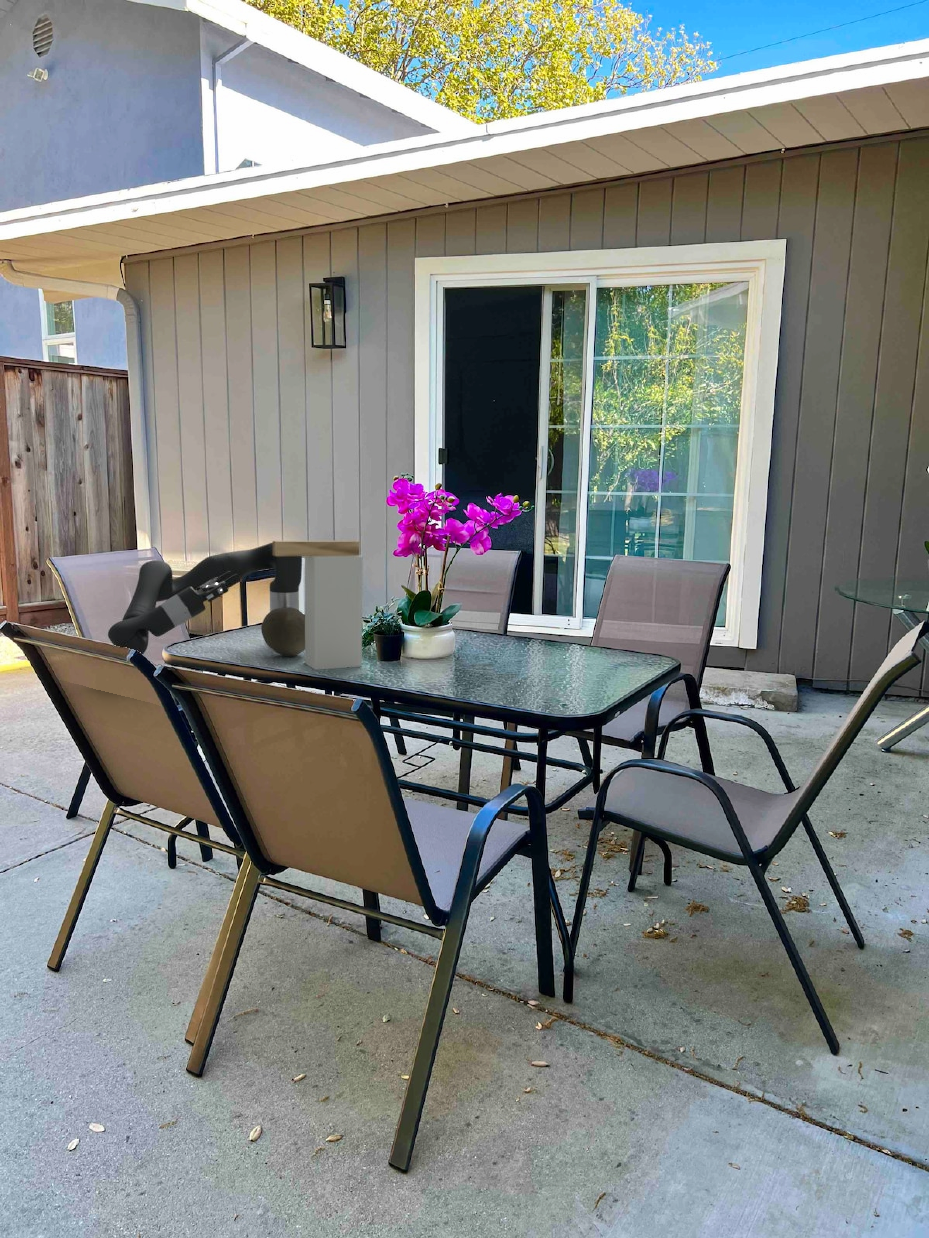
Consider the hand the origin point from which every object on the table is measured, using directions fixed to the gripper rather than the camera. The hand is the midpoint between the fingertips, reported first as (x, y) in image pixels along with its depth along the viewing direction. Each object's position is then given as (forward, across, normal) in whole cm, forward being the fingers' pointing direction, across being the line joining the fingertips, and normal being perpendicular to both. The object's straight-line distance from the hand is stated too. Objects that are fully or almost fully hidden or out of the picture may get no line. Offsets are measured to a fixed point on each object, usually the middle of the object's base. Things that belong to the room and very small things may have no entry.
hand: (235, 575), depth 240 cm
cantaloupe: (+2, -16, -32) cm, 36 cm away
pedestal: (+10, 0, -37) cm, 39 cm away
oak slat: (+22, 0, -7) cm, 23 cm away
